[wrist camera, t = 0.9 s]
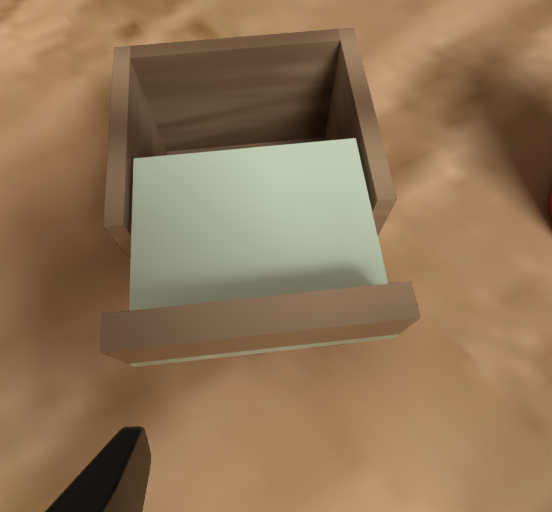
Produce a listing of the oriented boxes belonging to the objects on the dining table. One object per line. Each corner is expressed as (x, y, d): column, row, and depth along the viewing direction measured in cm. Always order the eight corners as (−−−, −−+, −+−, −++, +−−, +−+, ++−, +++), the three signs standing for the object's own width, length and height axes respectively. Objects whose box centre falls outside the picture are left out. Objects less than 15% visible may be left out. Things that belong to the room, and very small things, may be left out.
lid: (393, 338, 16) (420, 317, 13) (134, 367, 15) (100, 352, 12) (352, 149, 19) (366, 98, 16) (139, 169, 19) (113, 120, 16)
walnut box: (360, 269, 25) (397, 198, 17) (157, 290, 24) (103, 227, 17) (333, 134, 28) (353, 27, 21) (158, 150, 28) (114, 47, 21)
